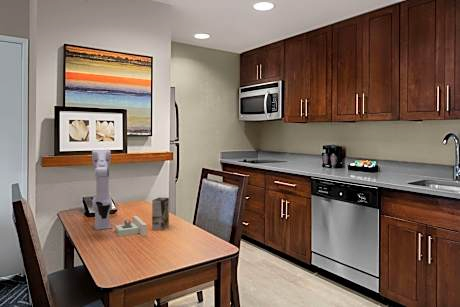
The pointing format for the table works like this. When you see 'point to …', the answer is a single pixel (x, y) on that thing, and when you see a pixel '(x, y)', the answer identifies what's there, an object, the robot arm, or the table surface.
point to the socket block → (126, 230)
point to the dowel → (127, 224)
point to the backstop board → (140, 225)
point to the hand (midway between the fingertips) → (102, 216)
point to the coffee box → (160, 213)
